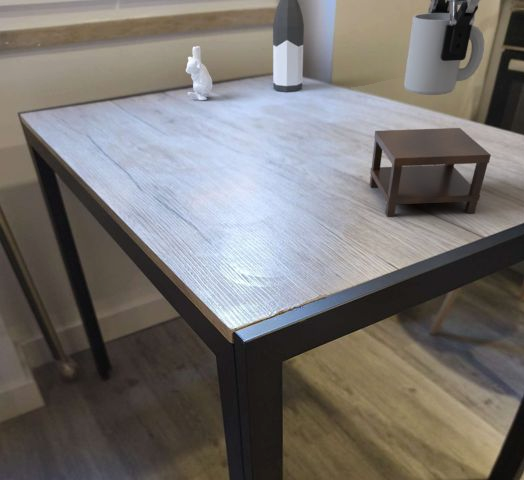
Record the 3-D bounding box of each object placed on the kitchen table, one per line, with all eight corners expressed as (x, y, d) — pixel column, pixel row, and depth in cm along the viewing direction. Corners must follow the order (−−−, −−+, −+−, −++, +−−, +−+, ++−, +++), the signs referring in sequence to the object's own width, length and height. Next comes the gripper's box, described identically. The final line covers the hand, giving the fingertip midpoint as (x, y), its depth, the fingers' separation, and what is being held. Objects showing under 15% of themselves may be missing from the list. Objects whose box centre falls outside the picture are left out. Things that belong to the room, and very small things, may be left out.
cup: (405, 82, 78) (414, 12, 72) (474, 84, 75) (489, 13, 70) (401, 94, 72) (411, 20, 67) (476, 97, 70) (493, 20, 64)
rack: (448, 181, 89) (459, 127, 83) (475, 213, 79) (491, 154, 73) (368, 184, 89) (375, 130, 83) (386, 217, 79) (394, 158, 73)
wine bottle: (302, 85, 145) (306, -48, 126) (301, 92, 139) (304, -47, 120) (274, 85, 146) (274, -48, 127) (271, 92, 140) (270, -46, 121)
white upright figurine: (188, 95, 139) (183, 44, 131) (213, 94, 139) (209, 43, 132) (188, 103, 132) (182, 50, 125) (213, 102, 133) (210, 49, 125)
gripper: (539, -124, 53) (493, 66, 65) (477, -113, 67) (449, 42, 78) (468, -122, 53) (435, 68, 64) (421, -112, 67) (400, 44, 78)
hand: (443, 53), depth 71 cm, fingers closed on cup, 7 cm apart
